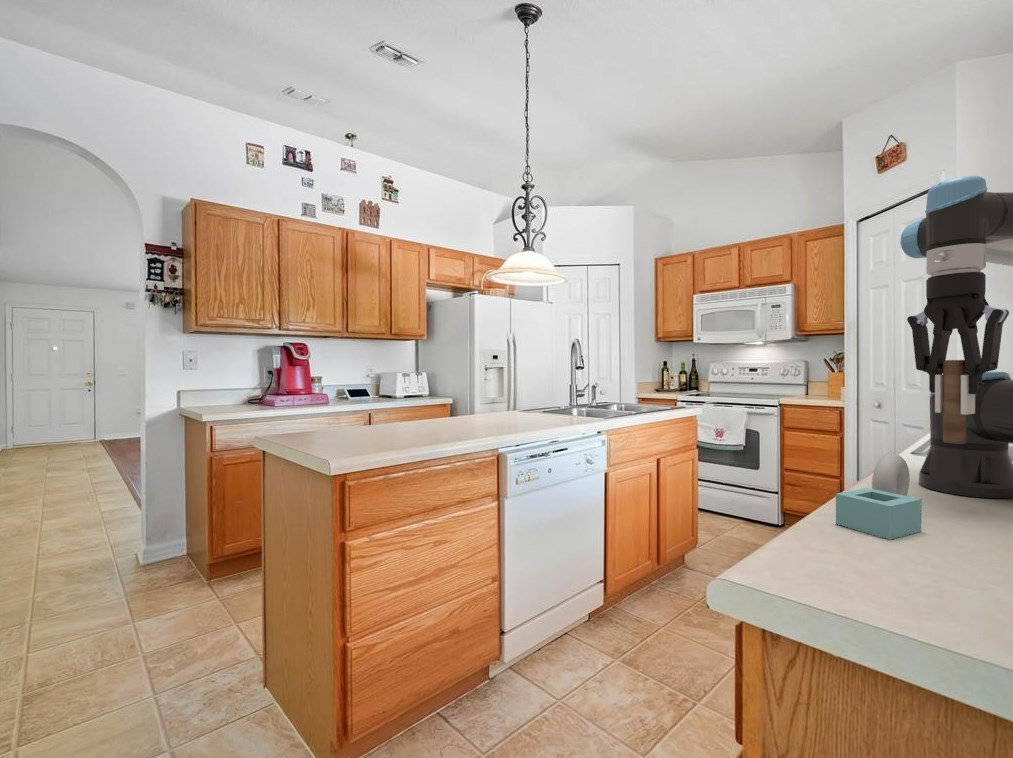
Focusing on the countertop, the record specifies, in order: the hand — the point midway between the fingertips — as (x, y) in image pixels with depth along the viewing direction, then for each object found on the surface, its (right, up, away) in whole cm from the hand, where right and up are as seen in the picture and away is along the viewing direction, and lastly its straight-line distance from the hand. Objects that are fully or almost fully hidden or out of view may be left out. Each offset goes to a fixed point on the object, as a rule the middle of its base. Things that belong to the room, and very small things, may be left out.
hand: (954, 412), depth 87 cm
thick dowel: (0, -5, 0) cm, 5 cm away
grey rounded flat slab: (-9, -18, +3) cm, 20 cm away
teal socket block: (-18, -18, -6) cm, 26 cm away
